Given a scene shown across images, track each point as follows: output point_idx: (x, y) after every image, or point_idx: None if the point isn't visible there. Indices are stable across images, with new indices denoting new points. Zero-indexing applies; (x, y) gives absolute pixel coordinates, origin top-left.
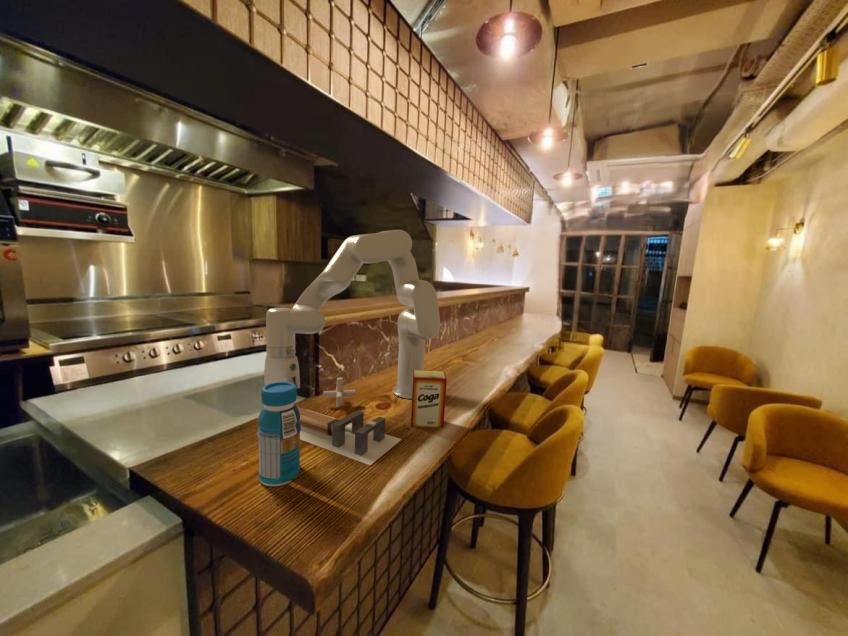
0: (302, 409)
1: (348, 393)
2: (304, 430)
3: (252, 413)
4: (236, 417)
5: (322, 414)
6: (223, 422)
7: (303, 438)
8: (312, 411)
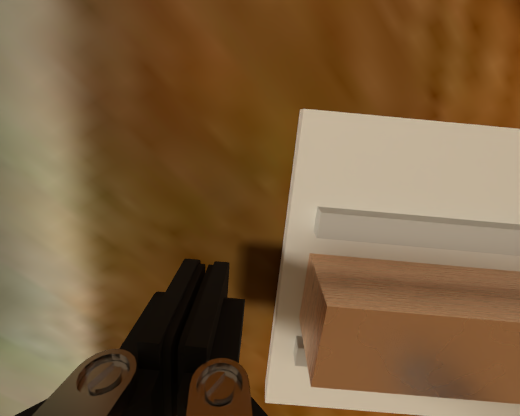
0: (441, 331)
1: None
2: None
3: (13, 288)
4: (4, 353)
5: (492, 127)
6: (19, 404)
7: (515, 412)
8: (376, 118)
